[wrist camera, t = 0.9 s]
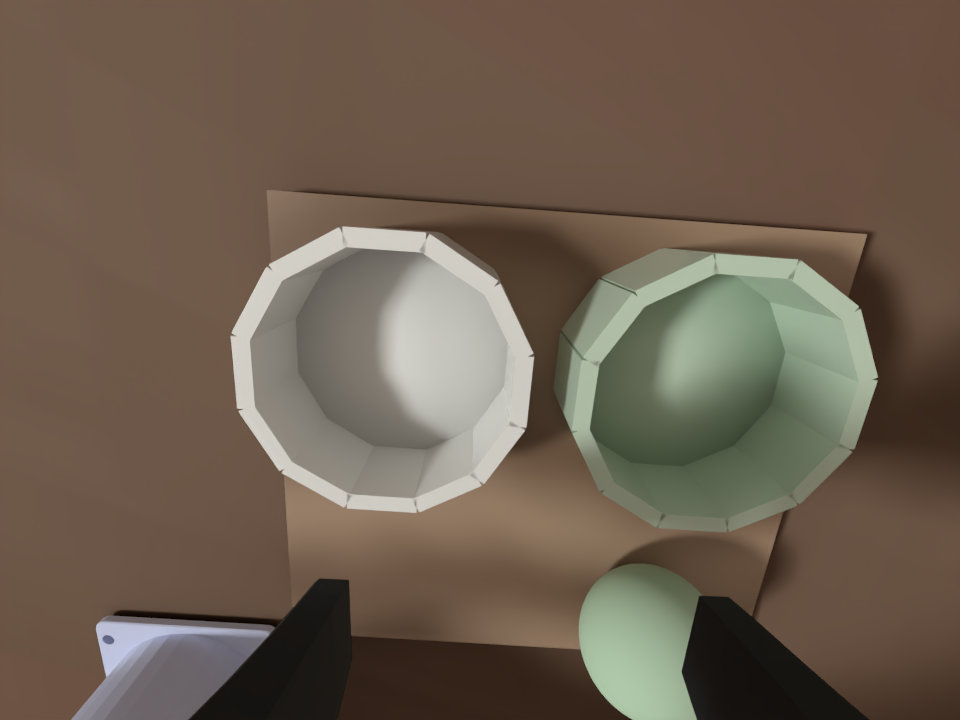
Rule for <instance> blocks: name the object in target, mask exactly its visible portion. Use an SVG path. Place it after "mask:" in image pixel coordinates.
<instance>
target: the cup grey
mask: <svg viewBox="0 0 960 720" xmlns="http://www.w3.org/2000/svg"><path fill="white" fill-rule="evenodd" d="M232 334H234V335H232V336H231V344H232V355H233V366H234V377H235V389H236V400H237V408H238V409H241V410H240V411H238V412H239V413H240V415H241V416H242V417H243V419H244V420H245V422H246V423H247V425H248V426H249V428H250V429H251V430H252V432H253V433H254V435H255V436H256V438H257V439H258V441H259V442H260V444H261V445H262V446H263V448H264V449H265V451H266V452H267V454H268V455H269V457H270V458H271V460H272V461H273V462H274V464H275V465H276V467H277V468H278V470H279V471H280V470H282V469H284V470H283V472H282V474H284V475H286V476H288V477H290V478H291V479H293V480H295V481H297V482H299V483H300V484H302V485H304V486H306V487H308V488H309V489H311V490H313V491H315V492H317V493H318V494H320V495H322V496H324V497H326V498H327V499H329V500H331V501H333V502H335V503H336V504H338V505H340V506H342V507H345V505H346V504H347V509H362V510H377V511H393V512H409V513H416V512H417V509H418V511H419V512H422V511H424V510H426V509H429V508H431V507H433V506H436V505H438V504H440V503H443V502H445V501H447V500H450V499H452V498H454V497H457V496H459V495H461V494H464V493H466V492H469V491H471V490H473V489H476V488H478V487H480V486H482V483H483V484H484V483H485V482H486V481H487V480H488V478H489V477H490V476H491V474H492V473H493V472H494V470H495V469H496V468H497V467H498V465H499V464H500V463H501V461H502V460H503V459H504V458H505V456H506V455H507V454H508V452H509V451H510V450H511V448H512V447H513V446H514V445H515V443H516V442H517V441H518V439H519V438H520V437H521V435H522V434H523V433H524V432H525V428H526V427H527V418H528V409H529V400H530V390H531V381H532V372H533V363H534V355H533V351H532V349H531V346H530V344H529V341H528V339H527V337H526V334H525V332H524V329H523V327H522V325H521V323H520V321H519V318H518V316H517V314H516V312H515V310H514V308H513V306H512V304H511V301H510V299H509V297H508V295H507V293H506V291H505V289H504V287H503V284H502V282H501V280H500V278H499V276H498V274H497V272H495V269H493V268H492V267H491V266H489V265H488V264H486V263H485V262H483V261H482V260H480V259H479V258H477V257H476V256H475V255H473V254H472V253H470V252H469V251H467V250H466V249H464V248H463V247H462V246H460V245H459V244H457V243H456V242H454V241H453V240H451V239H450V238H449V237H447V236H446V235H444V234H443V233H439V232H434V231H421V230H407V229H393V228H379V227H346V226H342V227H338V228H336V229H334V230H333V231H331V232H329V233H327V234H325V235H323V236H321V237H319V238H318V239H316V240H314V241H312V242H310V243H308V244H306V245H304V246H303V247H301V248H299V249H297V250H295V251H293V252H291V253H289V254H288V255H286V256H284V257H282V258H280V259H278V260H276V261H274V262H273V263H271V264H269V267H266V269H265V270H264V272H263V274H262V276H261V278H260V280H259V282H258V284H257V286H256V287H255V289H254V291H253V293H252V295H251V297H250V299H249V301H248V303H247V304H246V306H245V308H244V310H243V312H242V314H241V316H240V318H239V320H238V321H237V323H236V325H235V327H234V329H233V331H232Z"/></svg>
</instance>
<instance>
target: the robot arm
mask: <svg viewBox="0 0 960 720" xmlns="http://www.w3.org/2000/svg"><path fill="white" fill-rule="evenodd" d="M96 631H97V636H98V641H99V645H100V650H101V654H102V659H103V664H104V668H105V673H106V677H107V678H106V679H105V680H104V681H103V682H102V684H101V685H100V686H99V687H98V688H97V690H96V691H95V692H94V693H93V694H92V695H91V697H90V698H89V699H88V700H87V701H86V703H85V704H84V705H83V706H82V707H81V709H80V710H79V711H78V712H77V713H76V715H75V716H74V717H73V718H72V719H71V720H337V718H338V714H339V710H340V706H341V702H342V698H343V694H344V690H345V685H346V681H347V677H348V673H349V668H350V664H351V660H352V642H351V616H350V590H349V580H344V579H322V578H319V579H318V580H317V581H316V582H314V584H313V585H312V586H311V587H310V588H309V589H308V591H307V592H306V593H305V594H304V595H303V596H302V598H301V599H300V600H299V601H298V602H297V604H296V605H295V606H294V607H293V608H292V609H291V611H290V612H289V613H288V614H287V615H286V616H285V617H284V619H283V620H282V621H281V622H280V623H279V624H278V625H277V627H276V628H275V627H274V626H271V625H263V624H246V623H229V622H212V621H195V620H178V619H161V618H144V617H127V616H106V617H104V618H103V619H102V620H101V621H100V622H99V623H98V624H97V626H96ZM681 672H682V675H683V678H684V682H685V685H686V688H687V691H688V694H689V697H690V701H691V704H692V707H693V710H694V712H695V715H696V718H697V720H869V719H868V718H867V717H865V716H864V715H863V714H862V713H861V712H860V711H858V710H857V709H856V708H855V707H854V706H852V705H851V704H850V703H849V702H848V701H847V700H845V699H844V698H843V697H842V696H841V695H840V694H838V693H837V692H836V691H835V690H834V689H833V688H832V687H830V686H829V685H828V684H827V683H826V682H825V681H824V680H822V679H821V678H820V677H819V676H818V675H817V674H816V673H814V672H813V671H812V670H811V669H810V668H809V667H808V666H806V665H805V664H804V663H803V662H802V661H801V660H800V659H799V658H797V657H796V656H795V655H794V654H793V653H792V652H791V651H790V650H789V649H787V648H786V647H785V646H784V645H783V644H782V643H781V642H780V641H778V640H777V639H776V638H775V637H774V636H773V635H772V634H771V633H769V632H768V631H767V630H766V629H765V628H764V627H763V626H762V625H761V624H759V623H758V622H757V621H756V620H755V619H754V618H753V617H752V616H750V615H749V614H748V613H747V612H746V611H745V610H744V609H742V608H741V607H740V606H739V605H738V604H736V603H735V602H734V601H733V600H732V599H731V598H729V597H720V596H699V598H698V603H697V607H696V611H695V615H694V620H693V624H692V628H691V633H690V637H689V641H688V645H687V650H686V654H685V658H684V663H683V667H682V671H681Z"/></svg>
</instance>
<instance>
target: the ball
mask: <svg viewBox="0 0 960 720" xmlns="http://www.w3.org/2000/svg"><path fill="white" fill-rule="evenodd" d="M699 596H703V595H702V594H701V593H700V592H699V591H698V590H697V589H696V588H695V587H694V586H693V585H692V584H691V583H689V582H688V581H687V580H685V579H684V578H682V577H681V576H679V575H678V574H676V573H674V572H672V571H670V570H668V569H665V568H662V567H659V566H656V565H651V564H628V565H623V566H620V567H617V568H615V569H612V570H611V571H609V572H607V573H606V574H605V575H603V576H602V577H601V578H599V579H598V580H597V581H596V582H595V584H594V585H593V586H592V588H591V589H590V591H589V592H588V594H587V596H586V598H585V600H584V603H583V606H582V609H581V613H580V619H579V642H580V648H581V653H582V656H583V660H584V663H585V666H586V668H587V670H588V672H589V674H590V676H591V679H592V680H593V682H594V683H595V685H596V686H597V688H598V689H599V691H600V692H601V693H602V695H603V696H604V697H605V698H606V699H607V700H608V701H609V702H610V704H612V705H613V706H614V707H615V708H616V709H617V710H619V711H620V712H621V713H622V714H624V715H626V716H627V717H629V718H631V719H632V720H697V718H696V715H695V712H694V710H693V707H692V704H691V701H690V697H689V694H688V691H687V688H686V685H685V682H684V678H683V675H682V672H681V671H682V667H683V663H684V658H685V654H686V650H687V645H688V641H689V637H690V633H691V628H692V624H693V620H694V615H695V611H696V607H697V603H698V598H699Z"/></svg>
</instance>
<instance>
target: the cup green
mask: <svg viewBox="0 0 960 720" xmlns="http://www.w3.org/2000/svg"><path fill="white" fill-rule="evenodd" d="M601 278H602V280H600V279H598V280H597V282H596V283H595V284H594V286H593V287H592V288H591V290H590V291H589V292H588V294H587V295H586V297H585V298H584V299H583V301H582V302H581V303H580V305H579V306H578V307H577V309H576V310H575V311H574V313H573V314H572V315H571V317H570V318H569V319H568V321H567V322H566V323H565V325H564V326H563V328H562V329H561V330H562V331H563V332H560V337H559V345H558V353H557V361H556V369H555V377H554V385H553V390H554V393H555V396H556V398H557V400H558V402H559V405H560V407H561V409H562V412H563V414H564V416H565V418H566V421H567V423H568V425H569V427H570V430H571V432H572V434H573V436H574V438H575V440H576V443H577V445H578V447H579V449H580V451H581V453H582V455H583V457H584V460H585V462H586V464H587V466H588V468H589V470H590V472H591V475H592V477H593V479H594V481H595V483H596V485H597V487H598V489H599V491H600V492H601V494H603V495H604V496H606V497H608V498H609V499H611V500H612V501H614V502H616V503H617V504H619V505H620V506H622V507H624V508H625V509H627V510H628V511H630V512H632V513H633V514H635V515H637V516H638V517H640V518H641V519H643V520H645V521H646V522H648V523H649V524H651V525H653V526H654V527H656V526H657V527H658V528H663V529H679V530H695V531H711V532H726V531H727V530H728V531H729V532H731V531H733V530H736V529H738V528H741V527H744V526H746V525H749V524H751V523H754V522H757V521H759V520H762V519H765V518H767V517H770V516H772V515H775V514H778V513H780V512H783V511H785V510H788V509H791V508H793V507H796V506H797V504H796V502H797V503H799V504H801V503H802V502H803V501H804V500H805V499H806V498H807V497H808V496H809V495H810V494H811V493H812V492H813V491H814V490H815V489H816V488H817V487H818V486H819V485H820V484H821V483H822V482H823V481H824V480H825V479H826V478H827V477H828V476H829V475H830V474H831V473H832V472H833V471H834V470H835V469H836V468H837V467H838V466H839V465H840V464H841V463H842V462H843V461H844V460H845V459H846V458H847V457H848V456H849V455H850V454H851V453H852V451H850V450H849V449H855V446H856V443H857V440H858V438H859V435H860V432H861V429H862V426H863V423H864V420H865V417H866V414H867V411H868V408H869V405H870V402H871V399H872V396H873V393H874V390H875V387H876V384H877V381H878V380H875V378H878V375H877V371H876V367H875V364H874V360H873V356H872V352H871V348H870V344H869V340H868V336H867V332H866V328H865V324H864V320H863V316H862V312H861V309H857V308H858V307H859V306H858V305H857V304H855V303H854V302H853V301H852V300H850V299H849V298H848V297H847V296H845V295H844V294H843V293H842V292H840V291H839V290H838V289H836V288H835V287H834V286H833V285H831V284H830V283H829V282H828V281H826V280H825V279H824V278H823V277H821V276H820V275H819V274H818V273H816V272H815V271H814V270H813V269H811V268H810V267H809V266H808V265H806V264H805V263H804V262H803V261H799V260H798V259H787V258H777V257H766V256H756V255H745V254H735V253H723V252H710V251H696V250H682V249H668V248H663V249H659V250H657V251H654V252H652V253H650V254H648V255H646V256H644V257H642V258H640V259H638V260H636V261H633V262H631V263H629V264H627V265H625V266H623V267H621V268H619V269H617V270H614V271H612V272H610V273H608V274H606V275H604V276H602V277H601Z"/></svg>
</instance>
